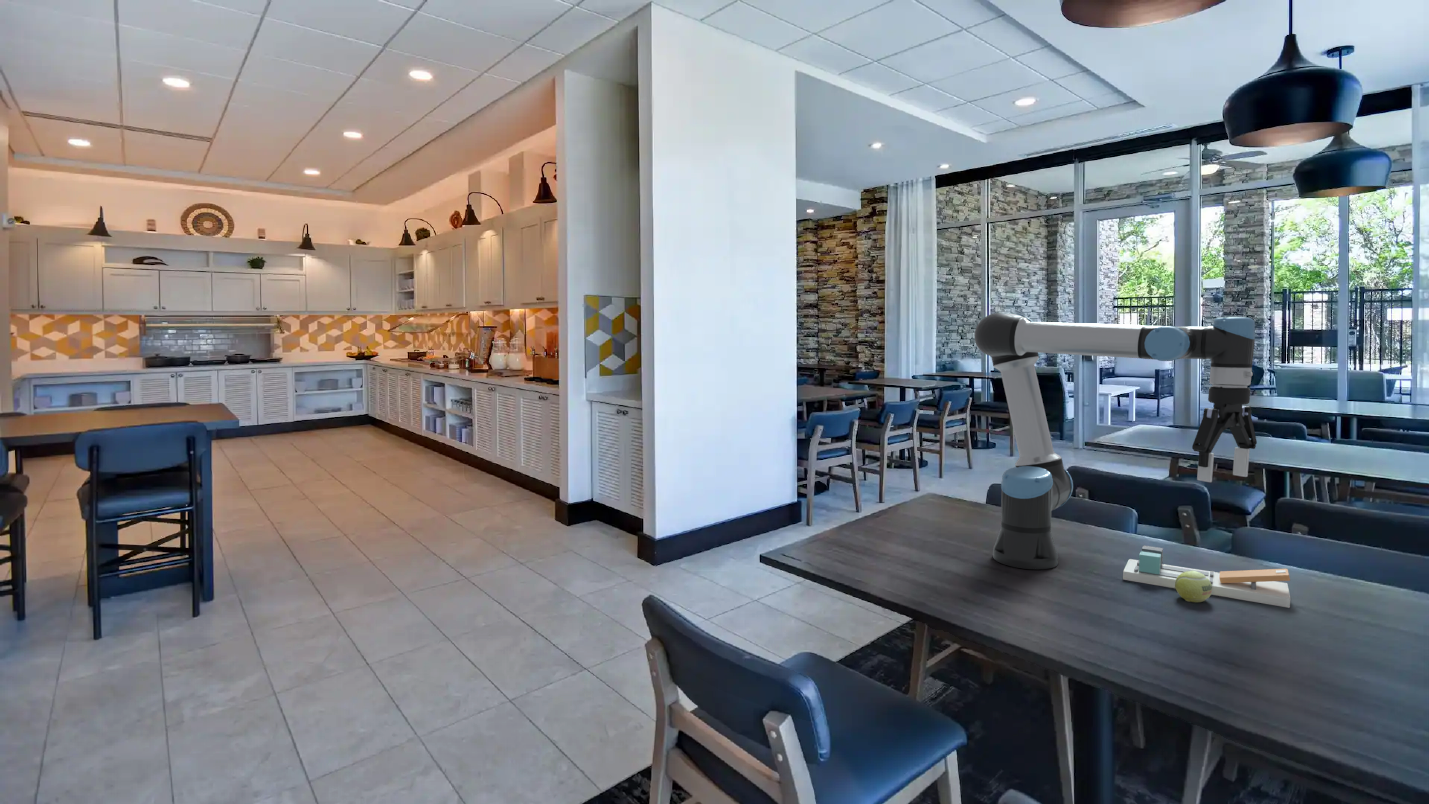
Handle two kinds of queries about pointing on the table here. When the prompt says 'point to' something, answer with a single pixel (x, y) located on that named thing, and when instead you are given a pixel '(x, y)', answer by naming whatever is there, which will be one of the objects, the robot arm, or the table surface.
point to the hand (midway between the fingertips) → (1222, 478)
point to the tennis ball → (1193, 586)
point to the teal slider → (1149, 562)
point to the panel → (1214, 584)
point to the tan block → (1254, 575)
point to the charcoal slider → (1154, 551)
